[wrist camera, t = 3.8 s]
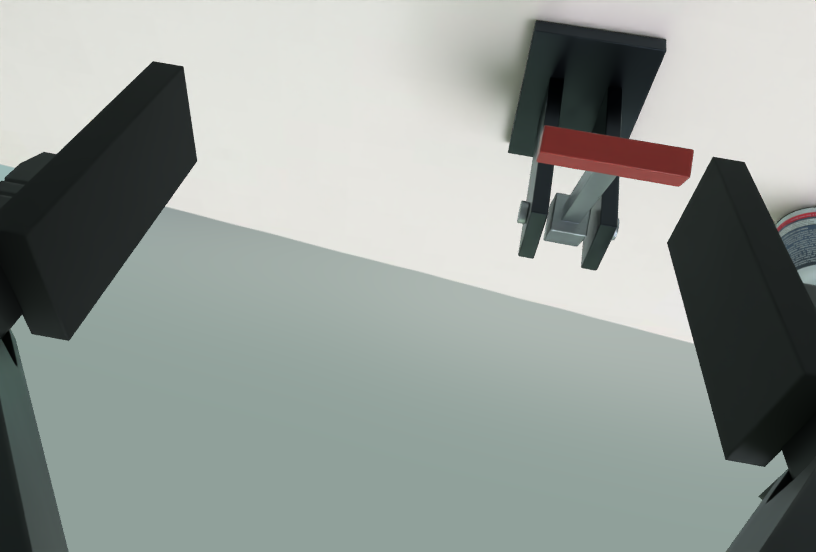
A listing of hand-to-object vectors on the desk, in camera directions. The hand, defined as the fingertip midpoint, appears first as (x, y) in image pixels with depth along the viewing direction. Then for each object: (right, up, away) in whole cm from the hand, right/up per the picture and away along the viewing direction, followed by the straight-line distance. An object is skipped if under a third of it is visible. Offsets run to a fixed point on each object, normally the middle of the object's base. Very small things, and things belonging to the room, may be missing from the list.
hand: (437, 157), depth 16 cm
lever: (+9, +3, +18) cm, 20 cm away
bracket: (+12, +10, +29) cm, 33 cm away
